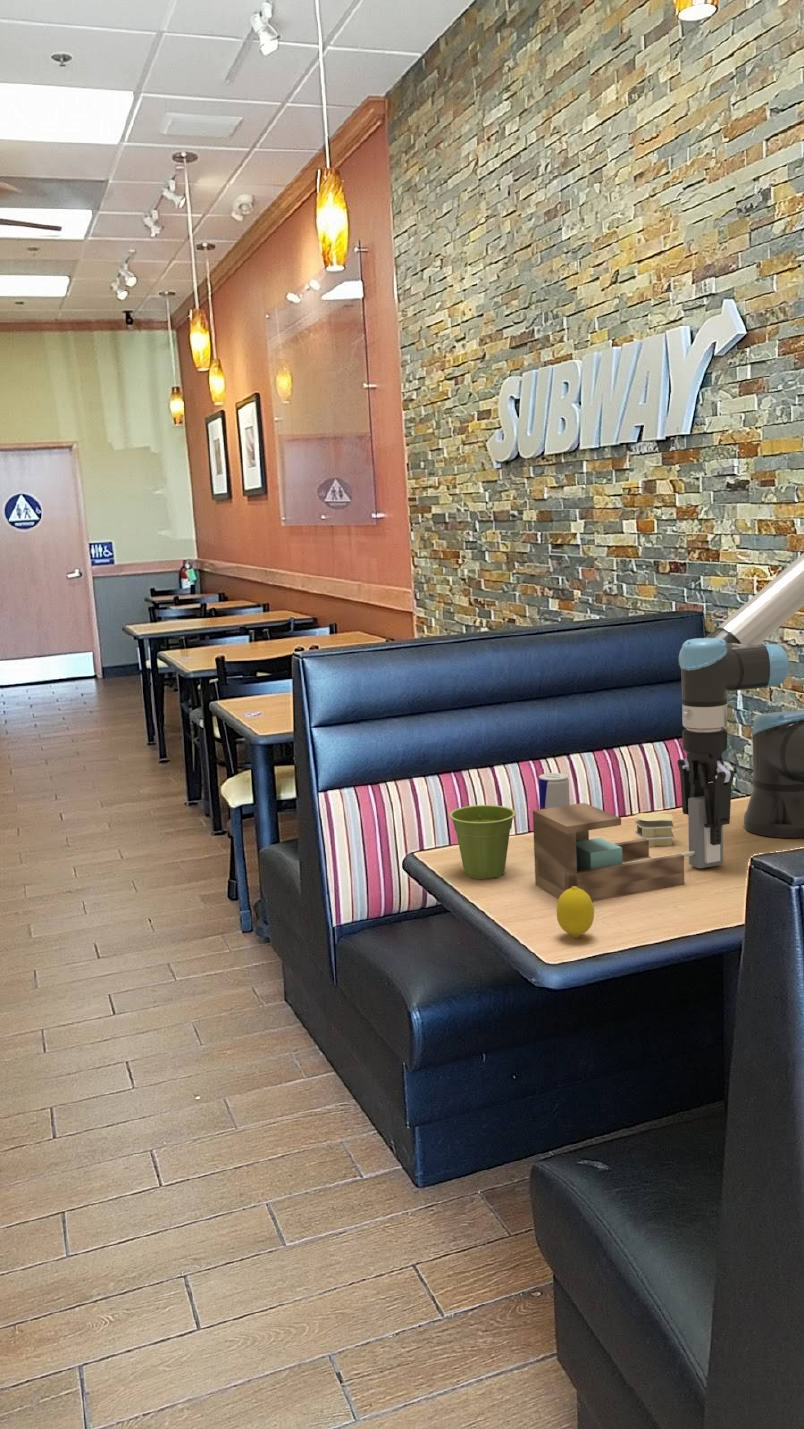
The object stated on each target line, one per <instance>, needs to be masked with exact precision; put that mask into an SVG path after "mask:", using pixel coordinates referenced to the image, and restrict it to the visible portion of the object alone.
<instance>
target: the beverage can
mask: <svg viewBox="0 0 804 1429" xmlns="http://www.w3.org/2000/svg"><path fill="white" fill-rule="evenodd" d="M538 798H539V799H538V802H539V810H540V809H547V808H553V807H560V806H567V805H571V803H570V801H571V800H570V780H569V775H568V774H566V773H560V772H548V773H543V774H540V775H539V776H538Z"/></svg>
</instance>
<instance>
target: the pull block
mask: <svg viewBox="0 0 804 1429" xmlns="http://www.w3.org/2000/svg"><path fill="white" fill-rule="evenodd" d="M687 816H688V818H687V819H688V820H687V821H688V851H685V852H684V851H683V852H679V853H677V854H682V855H684V858H686V857H688V865H690V866H693V867H695V868H697V869H704V868H710V867H714V866H720V865H724V825H722V826H721V844H720V861H717V862H711V863H706V862H705V845H704V824H707V815H706V805H705V796H699V797H693V798H688V815H687ZM713 820H714V819H713ZM675 854H676V853H673V854H672V855H675ZM669 855H670V854H669ZM669 855H666V856H669ZM576 856H577V872H578V871H583V870H589V869H595V868H601V867H606V866H612V865H618V864H623V863H622V847H620V846H617V845H615V843H613V842H611V841H609V840H607V839H604V838H602V837H598V838H597V837H596V838H591V839H590V838H589V840H584V841H578V842H576ZM664 856H665V855H662V856H660V857H664ZM658 857H659V856H657V857H654V858H658ZM652 858H653V857H652ZM652 858H650V859H652ZM644 860H646V859H644ZM638 861H641V860H638ZM632 862H635V861H632ZM627 863H629V862H627Z"/></svg>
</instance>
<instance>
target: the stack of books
mask: <svg viewBox="0 0 804 1429" xmlns="http://www.w3.org/2000/svg"><path fill="white" fill-rule="evenodd" d="M634 816H635V817H636V818H638V819H637V820H635V821H634V824H635V825H636V831H634V832H635V833H634V834H635V835H637V836H638V837H639V838H640V839H647V840H649V848H653V847H672V846H673V843H672V842H673V840H672V839H674V838H675V836H674V834H673V829H674V828H675V827H674V823H673V820H674V817H673V815H672V814H671V813H670V814H669V813H657V812H655V813H654V812H653V813H651V812H644V813H643V812H640V813H636V814H634ZM672 828H673V829H672Z"/></svg>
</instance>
